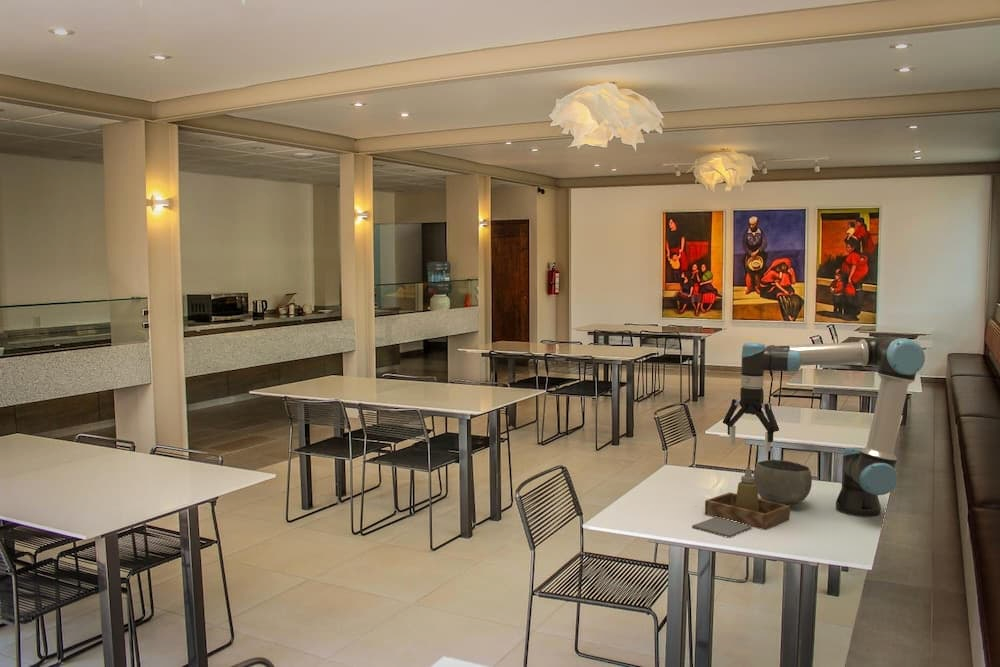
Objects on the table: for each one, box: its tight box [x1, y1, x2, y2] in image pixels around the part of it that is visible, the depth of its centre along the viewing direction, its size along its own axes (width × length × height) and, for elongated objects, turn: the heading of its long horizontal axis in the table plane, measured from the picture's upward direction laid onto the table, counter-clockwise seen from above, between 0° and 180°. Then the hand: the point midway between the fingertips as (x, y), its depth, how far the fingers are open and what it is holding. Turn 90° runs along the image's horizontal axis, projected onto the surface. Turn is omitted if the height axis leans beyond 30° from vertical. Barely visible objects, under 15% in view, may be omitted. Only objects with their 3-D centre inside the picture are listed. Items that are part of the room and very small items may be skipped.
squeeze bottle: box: [735, 466, 759, 512], centre depth 290 cm, size 8×8×18 cm
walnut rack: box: [704, 491, 791, 531], centre depth 291 cm, size 23×16×5 cm
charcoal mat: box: [691, 517, 752, 538], centre depth 278 cm, size 14×14×1 cm
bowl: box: [752, 459, 813, 506], centre depth 308 cm, size 20×20×15 cm
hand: (749, 447), depth 289 cm, fingers open, 13 cm apart
